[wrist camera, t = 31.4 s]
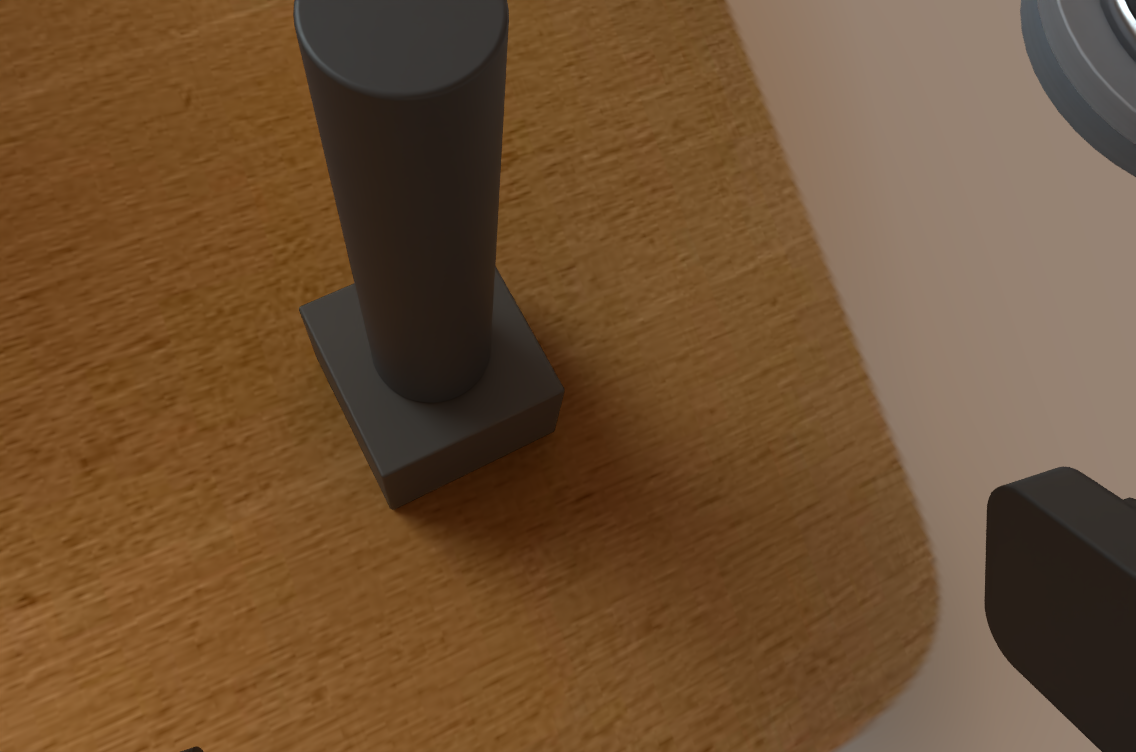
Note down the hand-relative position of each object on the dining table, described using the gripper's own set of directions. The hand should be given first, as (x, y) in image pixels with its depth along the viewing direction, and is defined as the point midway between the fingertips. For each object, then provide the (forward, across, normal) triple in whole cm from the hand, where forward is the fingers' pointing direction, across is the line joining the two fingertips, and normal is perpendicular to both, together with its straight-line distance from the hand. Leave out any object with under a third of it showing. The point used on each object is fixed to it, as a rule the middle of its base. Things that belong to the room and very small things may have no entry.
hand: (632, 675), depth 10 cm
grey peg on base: (+16, 0, +4) cm, 16 cm away
